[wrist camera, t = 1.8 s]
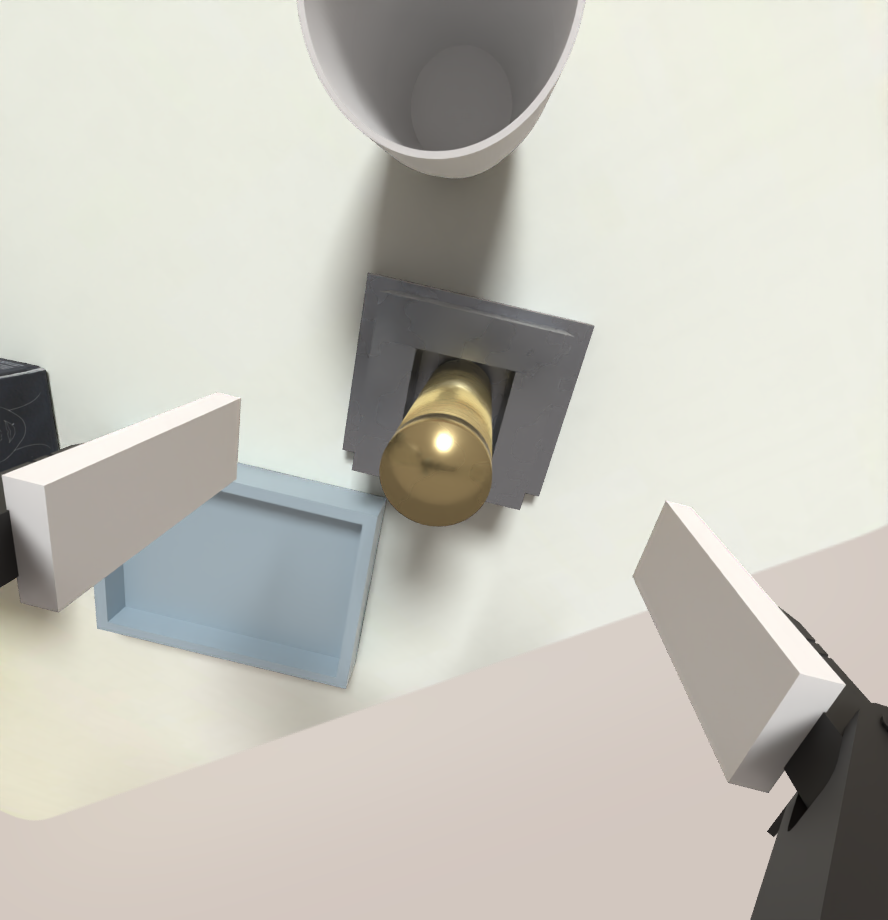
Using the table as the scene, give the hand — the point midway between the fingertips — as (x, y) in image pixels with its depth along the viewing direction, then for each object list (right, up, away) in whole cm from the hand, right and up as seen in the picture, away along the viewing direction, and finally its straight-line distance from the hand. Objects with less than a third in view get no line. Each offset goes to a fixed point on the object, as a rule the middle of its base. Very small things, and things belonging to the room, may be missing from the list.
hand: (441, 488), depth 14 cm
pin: (+1, +5, +12) cm, 13 cm away
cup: (+1, +18, +8) cm, 19 cm away
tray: (-14, -6, +18) cm, 24 cm away
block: (+1, +5, +13) cm, 14 cm away
